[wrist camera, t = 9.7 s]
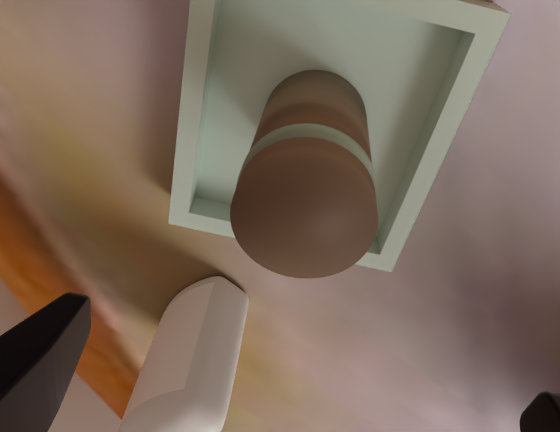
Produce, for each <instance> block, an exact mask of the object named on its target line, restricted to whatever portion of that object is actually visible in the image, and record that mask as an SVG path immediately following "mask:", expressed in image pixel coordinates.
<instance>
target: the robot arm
mask: <svg viewBox="0 0 560 432" xmlns="http://www.w3.org/2000/svg"><path fill="white" fill-rule="evenodd" d="M90 329H91V301H90V298H89V297H88V296H86V295H82V294H77V293H73V292H68V293H65V294H63V295H62V296H60V297H59V298H57V299H55V300H54V301H52V302H51V303H49V304H48V305H46V306H45V307H43V308H42V309H40V310H39V311H37V312H36V313H34V314H33V315H31V316H30V317H28V318H27V319H25V320H24V321H22V322H20V323H19V324H17V325H16V326H14V327H13V328H12V329H10V330H8V331H7V332H5V333H4V334H2V335H1V336H0V432H47V431H48V430H49V428H50V426H51V424H52V422H53V420H54V418H55V416H56V414H57V412H58V410H59V408H60V405H61V403H62V401H63V398H64V396H65V393H66V391H67V388H68V386H69V384H70V381H71V378H72V376H73V374H74V371H75V369H76V366H77V364H78V361H79V359H80V356H81V354H82V352H83V349H84V347H85V344H86V342H87V339H88V337H89V334H90ZM520 431H521V432H560V394H556V393H551V392H541V393H540V394H538V396H537V397H536V398H535V399H534V400H533V401H532V402H531V404H530V405H529V406H528V407H527V408H526V409H525V410H524V412H523V413H522V415H521V418H520Z"/></svg>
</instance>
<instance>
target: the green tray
mask: <svg viewBox="0 0 560 432" xmlns="http://www.w3.org/2000/svg"><path fill="white" fill-rule="evenodd" d="M510 16H511V13H509V12H508V11H506V10H504V9H503V8H501V7H500V6H498V5H497V4H495V3H491V2H487V1H483V0H190V5H189V15H188V26H187V36H186V46H185V57H184V67H183V77H182V88H181V98H180V108H179V119H178V129H177V139H176V150H175V160H174V170H173V181H172V191H171V201H170V212H169V222H168V224H173V225H177V226H182V227H186V228H191V229H195V230H200V231H204V232H209V233H214V234H218V235H223V236H227V237H232V238H235V236H234V233H233V230H232V227H231V222H230V207H231V202H232V198H233V196H234V193H235V190H236V184H237V180H238V176H239V173H240V171H241V168H242V165H243V163H244V160H245V158H246V156H247V154H248V153H249V151H250V148H251V145H252V142H253V139H254V136H255V134H256V131H257V128H258V125H259V122H260V120H261V117H262V114H263V111H264V108H265V105H266V103H267V100H268V98H269V96H270V94H271V93H272V91H273V90H274V89H275V87H276V86H277V85H278V84H279V83H280V82H282V81H283V80H284V79H286V78H287V77H289V76H291V75H293V74H295V73H298V72H302V71H306V70H323V71H328V72H332V73H335V74H337V75H339V76H341V77H343V78H344V79H346V80H347V81H348V82H350V83H351V84H352V85H353V86H354V87H355V89H356V90H357V91H358V93H359V94H360V96H361V98H362V100H363V103H364V106H365V110H366V117H367V125H368V134H369V142H370V150H371V159H372V166H373V169H374V172H375V178H376V186H377V199H378V201H377V209H378V229H377V233H376V236H375V239H374V241H373V243H372V245H371V247H370V248H369V250H368V251H367V253H366V254H365V255H364V256H363V257H362V258H361V259H360V260H359V261H358V262H356V263H355V265H360V266H364V267H369V268H373V269H378V270H382V271H387V272H392V270H393V268H394V266H395V264H396V262H397V259H398V257H399V255H400V253H401V251H402V249H403V247H404V244H405V242H406V240H407V238H408V236H409V234H410V231H411V229H412V227H413V225H414V223H415V221H416V219H417V216H418V214H419V212H420V210H421V208H422V206H423V203H424V201H425V199H426V197H427V195H428V193H429V190H430V188H431V186H432V184H433V182H434V180H435V178H436V175H437V173H438V171H439V169H440V167H441V165H442V162H443V160H444V158H445V156H446V154H447V152H448V150H449V147H450V145H451V143H452V141H453V139H454V137H455V134H456V132H457V130H458V128H459V126H460V124H461V122H462V119H463V117H464V115H465V113H466V111H467V109H468V106H469V104H470V102H471V100H472V98H473V96H474V94H475V91H476V89H477V87H478V85H479V83H480V81H481V78H482V76H483V74H484V72H485V70H486V68H487V66H488V63H489V61H490V59H491V57H492V55H493V53H494V50H495V48H496V46H497V44H498V42H499V40H500V38H501V35H502V33H503V31H504V29H505V27H506V25H507V22H508V20H509V18H510Z"/></svg>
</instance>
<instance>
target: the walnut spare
mask: <svg viewBox="0 0 560 432" xmlns="http://www.w3.org/2000/svg"><path fill="white" fill-rule="evenodd" d="M377 201H378V199H377V186H376V178H375V172H374V169H373V166H372V159H371V150H370V142H369V134H368V125H367V117H366V110H365V106H364V103H363V100H362V98H361V96H360V94H359V93H358V91H357V90H356V89H355V87H354V86H353V85H352V84H351V83H350V82H348V81H347V80H346V79H344V78H343V77H341V76H339V75H337V74H335V73H332V72H328V71H323V70H306V71H302V72H298V73H295V74H293V75H291V76H289V77H287V78H286V79H284V80H283V81H282V82H280V83H279V84H278V85H277V86H276V87H275V89H274V90H273V91H272V93H271V94H270V96H269V98H268V100H267V103H266V105H265V108H264V111H263V114H262V117H261V120H260V122H259V125H258V128H257V131H256V134H255V136H254V139H253V142H252V145H251V148H250V151H249V153H248V154H247V156H246V158H245V160H244V163H243V165H242V168H241V171H240V173H239V176H238V180H237V184H236V190H235V193H234V196H233V198H232V202H231V207H230V222H231V227H232V230H233V233H234V236H235V238H236V240H237V241H238V243H239V245H240V246H241V248H242V249H243V250H244V251H245V252H246V253H247V255H248V256H249V257H251V258H252V259H253V260H254V261H255V262H257V263H258V264H260V265H261V266H263V267H265V268H267V269H269V270H270V271H273V272H275V273H278V274H281V275H285V276H289V277H295V278H320V277H326V276H330V275H333V274H336V273H339V272H341V271H343V270H345V269H347V268H349V267H351V266H352V265H354V264H355V263H356V262H358V261H359V260H360V259H361V258H362V257H363V256H364V255H365V254H366V253H367V251H368V250H369V248H370V247H371V245H372V243H373V241H374V239H375V236H376V233H377V229H378V209H377Z"/></svg>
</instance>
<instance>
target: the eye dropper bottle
mask: <svg viewBox="0 0 560 432" xmlns="http://www.w3.org/2000/svg"><path fill="white" fill-rule="evenodd" d="M248 304H249V300H248V296H247V295H246V293H245V292H243V291H242V290H241V289H240V288H238V287H237V286H235V285H234V284H233V283H231V282H230V281H228V280H227V279H225V278H223V277H221V276H213V277H209V278H206V279H203V280H200V281H198V282H196V283H194V284H192V285H190V286H188V287H187V288H185V289H184V290H182V291H181V292H180V293H179V294H177V295H176V296H175V297H174V298H173V300H172V301H171V302H170V303H169V305H168V306H167V308H166V310H165V312H164V313H163V316H162V318H161V320H160V323H159V325H158V328H157V331H156V333H155V336H154V338H153V341H152V343H151V346H150V349H149V351H148V354H147V356H146V359H145V361H144V364H143V367H142V369H141V372H140V374H139V377H138V380H137V382H136V385H135V387H134V390H133V393H132V395H131V398H130V400H129V403H128V405H127V408H126V411H125V414H124V416H123V419H122V422H121V424H120V427H119V431H118V432H221V430H222V428H223V425H224V422H225V418H226V415H227V411H228V406H229V402H230V397H231V393H232V387H233V382H234V377H235V372H236V367H237V362H238V357H239V352H240V346H241V341H242V336H243V330H244V325H245V320H246V315H247V309H248Z"/></svg>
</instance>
